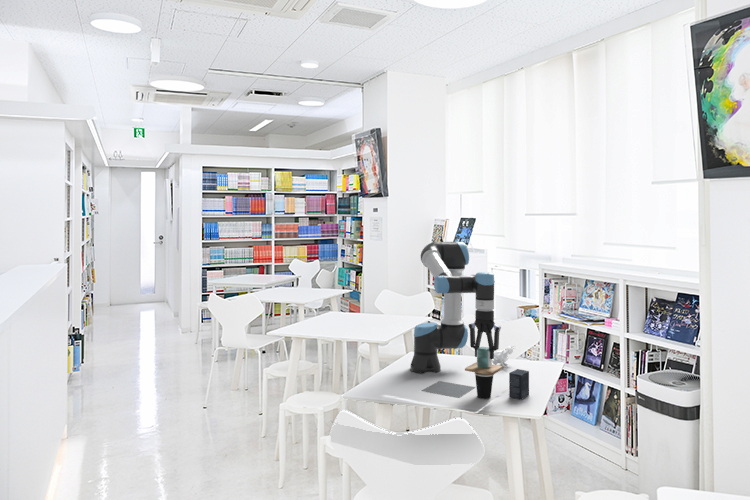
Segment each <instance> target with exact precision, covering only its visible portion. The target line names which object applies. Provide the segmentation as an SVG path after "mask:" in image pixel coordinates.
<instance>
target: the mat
mask: <svg viewBox="0 0 750 500" xmlns="http://www.w3.org/2000/svg"><path fill="white" fill-rule="evenodd" d="M474 389H477V387H476V386H472V385H466V384H459V383H455V382H453V383H452V382H447V381H442V380H438V381H436V382H435V383H434V382H433V384H431V385H429V386H427V387H426V388H423V389H420V391H421V392H424V393H430V394H434V395H435V394H436V395H441V396H446V397H452V398H457V399H460V398H462V397H463V396H465V395H466V394H468V393H470V392H471V391H473V390H474Z"/></svg>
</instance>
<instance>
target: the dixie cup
mask: <svg viewBox="0 0 750 500" xmlns="http://www.w3.org/2000/svg"><path fill="white" fill-rule="evenodd" d="M474 375H475V387H476V395H477V398H479V399H482V400H487V399H490V398H491V396H492V391H493V390H492V389H493V388H492V387H493V383H494V382H493V380H494V375H489V374H483V373H477V372H474Z"/></svg>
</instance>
